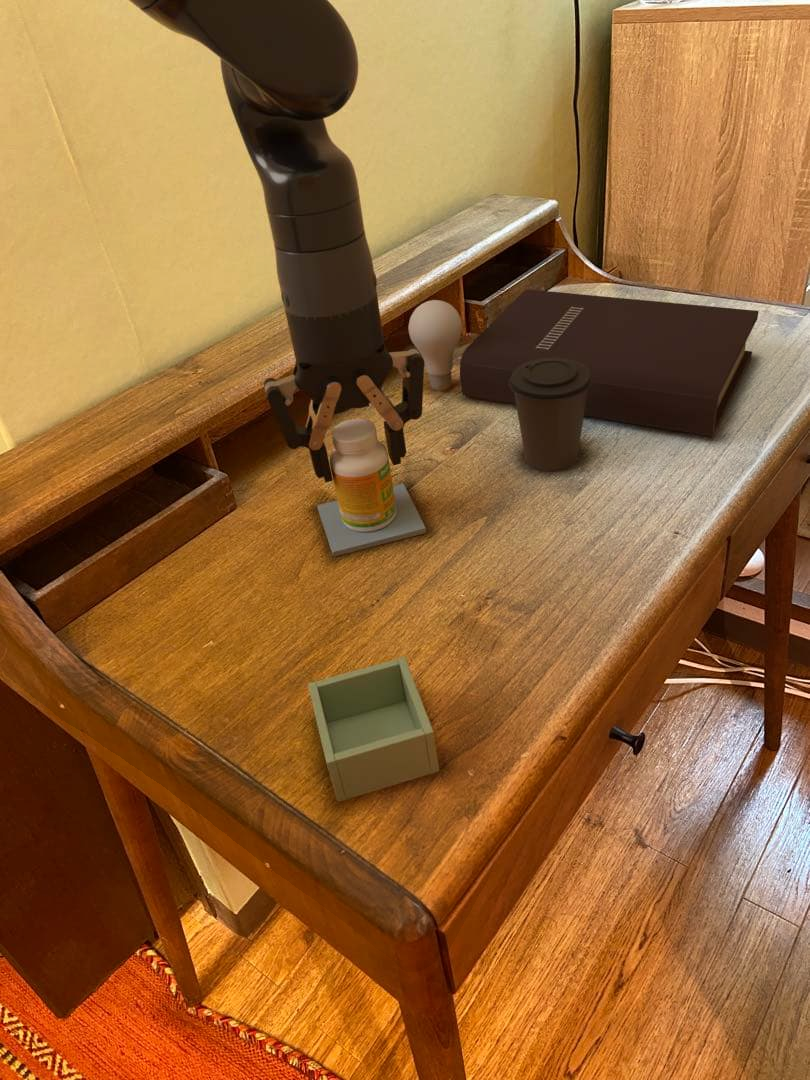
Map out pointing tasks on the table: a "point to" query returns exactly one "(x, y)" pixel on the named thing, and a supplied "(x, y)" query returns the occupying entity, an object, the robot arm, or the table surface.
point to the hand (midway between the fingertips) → (361, 468)
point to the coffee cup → (551, 410)
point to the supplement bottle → (362, 476)
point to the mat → (399, 528)
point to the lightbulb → (436, 339)
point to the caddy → (373, 728)
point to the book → (620, 355)
